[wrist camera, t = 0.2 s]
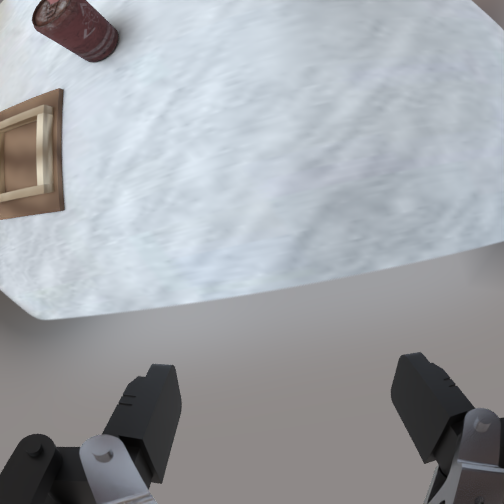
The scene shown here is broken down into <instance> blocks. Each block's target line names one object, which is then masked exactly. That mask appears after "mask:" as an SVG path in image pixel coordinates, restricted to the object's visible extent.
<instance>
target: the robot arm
mask: <svg viewBox="0 0 504 504" xmlns="http://www.w3.org/2000/svg"><path fill="white" fill-rule="evenodd" d="M391 398H392V402H393V404H394V406H395V408H396V410H397V412H398V413H399V415H400V417H401V419H402V421H403V423H404V425H405V427H406V429H407V431H408V433H409V435H410V436H411V438H412V440H413V442H414V444H415V446H416V448H417V450H418V452H419V454H420V456H421V458H422V460H423V462H424V464H426V463H429V462H432V461H435V460H436V461H437V462H438V465H437V467H436V469H435V471H434V474H433V478H432V481H431V484H430V486H429V490H428V492H427V495H426V498H425V500H424V503H423V504H504V418H499V417H498V416H497V415H496V414H495V413H494V412H492V411H491V410H489V409H485V408H474V406H473V405H472V404H471V403H470V401H469V400H468V399H467V398H466V396H465V395H464V394H463V393H462V391H461V390H460V389H459V388H458V387H457V386H455V383H454V382H453V381H452V379H450V377H449V376H448V374H447V373H446V372H445V371H444V370H443V369H442V368H440V367H439V366H437V365H435V364H434V363H430V362H429V361H428V360H427V359H426V357H425V356H424V355H423V354H422V353H421V352H418V353H412V354H406V355H402V356H401V357H400V358H399V361H398V365H397V369H396V373H395V376H394V380H393V384H392V387H391ZM181 405H182V403H181V395H180V390H179V385H178V380H177V375H176V369H175V367H174V365H164V364H152V365H151V367H150V369H149V371H148V373H147V375H146V377H140V376H138V377H137V378H136V379H134V380H133V381H132V382H131V383H129V384H128V386H127V388H126V390H125V391H124V393H123V396H122V397H121V399H120V401H119V405H117V407H116V408H115V410H114V412H113V414H112V416H111V418H110V420H109V422H108V424H107V426H106V427H105V429H104V431H103V433H102V435H96V436H93V437H91V438H89V439H87V440H86V441H85V442H84V443H83V444H82V446H81V447H56V446H55V444H54V442H53V441H52V440H51V439H50V438H49V437H48V436H46V435H42V434H32V435H29V436H27V437H25V438H24V439H22V440H21V441H20V442H19V444H18V445H17V447H16V449H15V450H14V452H13V454H12V455H11V457H10V459H9V460H8V462H7V464H6V465H5V467H4V469H3V471H2V472H1V474H0V504H157V503H156V501H155V499H154V498H153V496H152V495H151V493H150V492H149V487H150V484H151V482H154V483H160V484H162V481H163V478H164V474H165V470H166V466H167V462H168V458H169V455H170V451H171V447H172V443H173V440H174V436H175V433H176V429H177V425H178V422H179V418H180V414H181V407H182V406H181Z"/></svg>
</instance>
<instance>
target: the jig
mask: <svg viewBox="0 0 504 504" xmlns="http://www.w3.org/2000/svg"><path fill="white" fill-rule="evenodd" d="M62 104H63V90H62V89H60V88H58V89H56V90H53V91H50V92H47V93H44V94H42V95H39V96H36V97H34V98H31V99H29V100H26V101H24V102H22V103H19V104H17V105H15V106H12V107H10V108H8V109H6V110H3V111H1V112H0V220H3V219H9V218H15V217H21V216H28V215H35V214H42V213H49V212H57V211H63V210H64V198H63V184H62V159H61V128H62Z"/></svg>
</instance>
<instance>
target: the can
mask: <svg viewBox="0 0 504 504" xmlns="http://www.w3.org/2000/svg"><path fill="white" fill-rule="evenodd" d="M32 23H33V24H34V28H35V29H36V30H37V31H38V32H40V33H41V34H43V35H45V36H47V37H48V38H50V39H52V40H53V41H55V42H57V43H58V44H60V45H62V46H63V47H65V48H67V49H68V50H70V51H72V52H73V53H75V54H77V55H78V56H80V57H81V58H83V59H85V60H87V61H89V62H96V61H99V60H102V59H104V58H106V57H107V56H108V55H110V54H111V53H112V52H113V50H114V49H115V47H116V45H117V42H118V32H117V30H116V29H115V28H114V27H113V26H112V25H111V24H110V23H109V22H108V21H107V20H106V19H105V18H104V17H103V16H102V15H101V14H100V13H99V12H98V11H97V10H96V9H95V8H93V7H92V6H91V5H90V4H89V3H88V2H87V1H86V0H41V2H40V3H39V4H38V6H37V7H36V9H35V11H34V13H33V17H32Z"/></svg>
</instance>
